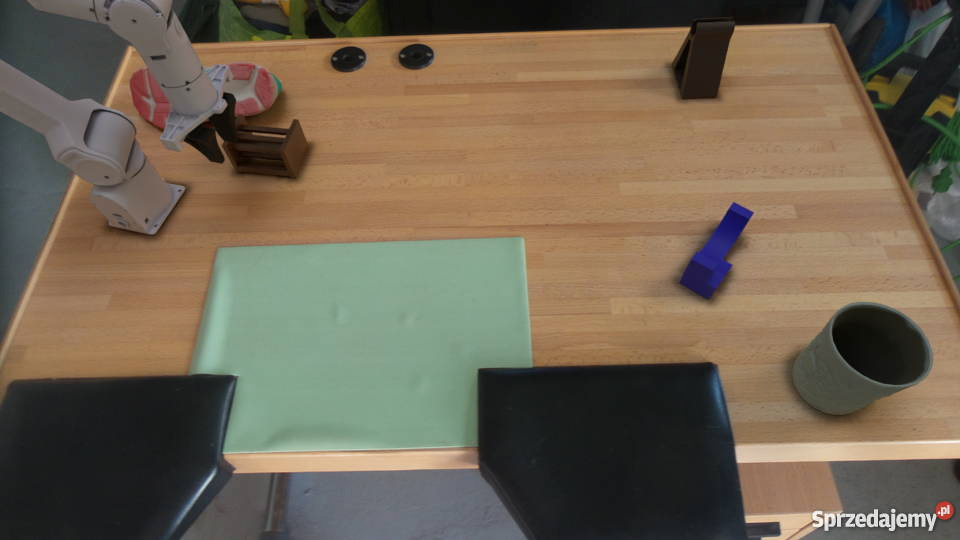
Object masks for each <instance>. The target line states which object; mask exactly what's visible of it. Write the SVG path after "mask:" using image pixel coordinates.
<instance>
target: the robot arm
mask: <svg viewBox="0 0 960 540" xmlns="http://www.w3.org/2000/svg"><path fill="white" fill-rule="evenodd" d="M173 1H174V0H26V2H27V3H28V4H30V5H31V6H32V7H33V8H34V9H35V10H37V11H41V12H44V13H45V12H46V13H50V14H54V15H60V16H64V17H68V18H69V17H70V18H74V19H79V20H83V21H88V22H93V23H97V24H102V25H107V26H108V28H110V30H111V31H112V32H114V33H115V34H116V35H118V37H121V38H122V39H124V40H126V41H127V42H129V43H130V44H131V45H132V47H133V48H134V50H135V51H136V53H137V54H138V55H139V56H140V58H141V59H142V61H143V62H144V64H145V65H146V67H148V69H149V70H150V72H151V73H152V75H153V77H154V78H155V80H156V81H157V83H158V85H159V86H160V88H161V89H162V91H163V93H164V94H165V96H166V97H167V99H168V101H169V102H170V104H171V108H170V112H169V115H168V119H167V123H166V126H165V129H163V132H162V133H161V135H160V137H159V140H160V142H161V143H162V145H163V147H164V149H166V150H168V151H172V152H179V153H180V152H181V151H182V150H183V149H184V147H185V145H184V144H183V142H184V143H185V144H187V145H189V146H191V147H193V148H194V149H195V150H197V151H198V152H199V153H200V154H202V155H203V156H204V157H205V158H206V159H207V160H208V161H209V162H211V163H215V164H219V165H222V164H224V163H225V161H226V160H225V159H226V158H225V155H224V153H223V151H222V149H221V147H220V145H219V143H218V139H217V135H216V133H217V134H218V136H219V137H220V139H221V140H222V141H223V142H224V141H227V142H232V143H237V141H238V136H237V131H236V125H235V120H236V117H235V105H236V98H235V96H234V95H233V94H231V93H226V92H224V87H225V83H226V81H227V82H230V81H232V79H233V78H234V76H233V74H232V72H231V70H230V68H229V66H226V64H220V63H215V64H214V65H213V66H214V67H213V68H212V69H211V70H210V71H208V72H207V73H206V71H205V69H204V67H203V66H204V65H203V63H202V60H201V59H200V57H199V56H198V54H197V52H196V50H195V48H194V46H193V44H192V42H191V40H190V38H189V36H188V35H187V32H186V31H185V29H184V27H183V26H182V23H181V22H180V20H179V18H178V16H177V14H176V12H175V11H174V10H173V9H172V6H173ZM0 112H1V113H2V114H4V115H6V116H8V117H9V118H11V119H13V120H15V121H17V122H19V123H21V124H23V125H24V126H26V127H28V128H31V129H32V130H34V131H35V132H38V133H40V134H41V135H43V136H44V137H45V139H46V142H47V144H48V147H49V150H50V152H51V155H52V157H53V159H54V160H55V161H56V162H58V163H60V164H62V165H63V166H65V167H66V168H68V169H69V170H71V172H72V173H73V174H74V175H75V176H76V177H78V178H79V179H81V180H83V181H84V182H86V183H89V184H92V187H91V190H90V192H89V194H88V197H87V198H88V200H89V202H90V203H91V204H92V205H93V206H94V207H95V208H96V210H97V211H98V212H99V213H101V215H102V216H103V217H104V218H105V219H106V220H107V221H108V223H107V224H108V225H109V226H110V227H113V228H118V229H122V230H127V231H131V232H136V233H141V234H145V235H150V236H154V235H156V234H157V233H158V231H159V229H160V228H162V227H161V226H162V225H163V224H164V222H165V220H166V219H167V218H168V216H169V215H170V213H171V212H172V211H173V209H174V207H176V204H177V203H178V202H179V200H180V199H181V198H182V196H183V194H184V193H185V192H186V187H185V186H184V185H178V184H174V183H168V182H167V181H166V180H165V178H164V177H163V176H162V175H161V173H160V172H159V171H158V170H157V168H156V166H155V165H154V164H153V163H152V161H151V159H149V158H148V156H147V155H146V153H145V152H144V151H143V149H142V148H141V147H140V145H141V144H140V142H139V141H138V140H137V139H136V137H137V134H138V127H137V124H136V123H135V121H134V120H133V119H132V118H131V117H130V115H128V114H126V113H124V112H123V111H120V110H118V109H115V108H112V107H108V106H105V105H103V104H101V103H99V102H97V101H96V100H95V99H92V98H82V99H75V100H69V99H68V98H67V97H64V96H62V95H60V94H59V93H57V92H56V91H54V90H52V89H51V88H49V87H47V86H46V85H44V84H42V83H41V82H39V81H38V80H36V79H35V78H32V77H30V76H29V75H27V74H26V73H24V72H22V71H21V70H19V69H17V68H15V67H14V66H12V65H11V64H10V63H8V62H6V61H4V60H2V59H0ZM207 118H208V119H209V121H208V122H210V123H211V125H212V127H207V126H205V125H204V124H203V123H204V122H203V121H205V120H206V119H207Z"/></svg>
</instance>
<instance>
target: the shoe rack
mask: <svg viewBox="0 0 960 540" xmlns="http://www.w3.org/2000/svg"><path fill="white" fill-rule="evenodd" d="M235 125H236V131H237V136H238V141H237V143H232V142H227V141H223V142H222V144H221V148H222V150H223V151H224V153H225V154H226V156H227V158H228V160H229V162H230V163H231V165H232V166H233V169H234V170H235V172H236V173H240V174H242V172H243V173H253V174H261V175H273V176H281V177H290V178H291V179H296V178H297V177H298V174H299V171H300V169H301V166H302V164H303V162H304V159H305V157H306V155H307V153H308V149H309V147H310V146H309V143H308V141H307V138H306V135H305V132H304V131H303V128H302V125H301V123H300V120H299V119H298V118H297V119H296V118H293V120H292V122H291V124H290V126H289V128H283V127H274V126H273V127H272V126H262V125H253V124H252V125H251V124H248V122H247V119H246V118H245V117H244V116H243V115H242V114H238V116H237V117H235ZM255 133H256V134H255ZM259 134H265V135H259ZM268 135H277V136H268ZM279 136H280V137H279ZM281 136H285V137H281ZM249 159H258V160H266V161H267V160H268V161H278V162H283V163H284V166H285V167H284V166H273V165H265V164H254V163H247V162H248V160H249Z"/></svg>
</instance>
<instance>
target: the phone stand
mask: <svg viewBox="0 0 960 540" xmlns="http://www.w3.org/2000/svg"><path fill="white" fill-rule="evenodd" d="M735 28H736V21H735V20H734V17H733V16H730V17H729V16H727V17H706V18H705V17H704V18H694V19H693V20H692V21H691V25H690V29H689V31H688V33H687V35H686V37H685V39H684V40H683V43H682V44H681V46H680V48H679V49H678V51H677V53H676V55H675V57H674V58H673V60H672V62H671V66H670V67H671V69H672V72H673V76H674V79H675V82H676V86H677V88H678V92H679V95H680V98H681V99H704V98H717V97H718V94H719V90H720V85H721V81H722V76H723V73H724V72H723V71H724V69H725V64H726V61H727V55H728V51H729V46H730V42H731V40H732V37H733V34H734V32H735Z"/></svg>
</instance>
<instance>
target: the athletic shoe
mask: <svg viewBox="0 0 960 540" xmlns="http://www.w3.org/2000/svg"><path fill="white" fill-rule="evenodd" d="M225 65H226V66H229V68H230V70H231V72H232V74H233V76H234V78H233V79H232V81H230V82H227V81H226V83H225V87H224V92H226V93H231V94H233V95H234V96H235V98H236V105H235V118H237V116H238V114H242V115H243V116H244V118H245V117H247V116H248V117H249V116H255V115H259V114H262V113H263V112H265V111H267V110H268V109H270V108H271V107H272V106H273V105H274V103H275V101H276V100H277V98H278V97H279V95H280V94H281V92H282V89H283V83H282V82H281V80H280V79H279V78H278V77H276V75H274V74H273V73H272V72H271V71H269V70H268V69H267V68H266V67H264V66H262V65H259V64H256V63H254V62H251V61H233V62H229V63H226V64H225ZM214 66H215V65H208V66H207V65H206V66H205V65H203V67H204V69H205V71H206V73H207V72H208V71H210V70H211V69H212V68H213V67H214ZM129 89H130V93H131V98H132V99H131V100H132V104H133V107H134V108H135V110H136V112H137V113H138V114H139V115H140V116H141V117H142V118H144V119H145V120H146V121H147V122H149V123H151V124H153V125H154V126H156V127H157V128H160V129H162V130H164V129H165V126H166V123H167V119H168V115H169V112H170V108H171V104H170V102H169V101H168V99H167V97H166V96H165V94H164V93H163V91H162V89H161V88H160V86H159V85H158V83H157V81H156V80H155V78H154V77H153V75H152V73H151V72H150V70H149V69H148V67H147V66H144V67H143V66H142V67H141V68H138V70H135V71H134V72H133V73H132V75H131V77H130V79H129ZM205 122H210V121H209V119H208V118H207V119H206V120H205V121H203V122H202V123H205Z"/></svg>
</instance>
